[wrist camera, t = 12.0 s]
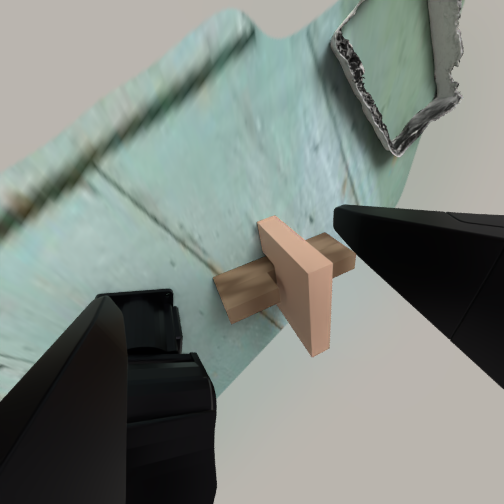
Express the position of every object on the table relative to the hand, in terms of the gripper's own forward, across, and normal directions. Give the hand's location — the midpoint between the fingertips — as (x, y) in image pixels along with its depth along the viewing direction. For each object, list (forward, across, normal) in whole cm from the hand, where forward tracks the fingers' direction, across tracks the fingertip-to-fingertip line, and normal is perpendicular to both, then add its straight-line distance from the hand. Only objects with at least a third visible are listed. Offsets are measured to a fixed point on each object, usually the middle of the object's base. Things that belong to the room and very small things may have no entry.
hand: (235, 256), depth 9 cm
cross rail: (+12, -6, +11) cm, 18 cm away
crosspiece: (+12, -6, +11) cm, 18 cm away
